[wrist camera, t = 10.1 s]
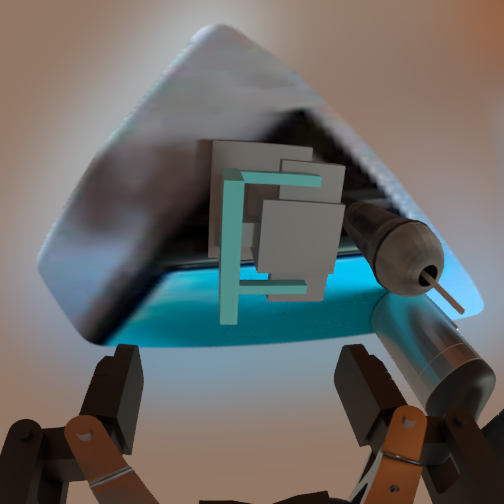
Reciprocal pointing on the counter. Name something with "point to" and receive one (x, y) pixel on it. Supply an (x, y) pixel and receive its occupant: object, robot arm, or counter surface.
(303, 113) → the counter surface
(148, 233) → the counter surface
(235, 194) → the teal c-shaped bracket
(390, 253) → the beverage cup
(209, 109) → the counter surface
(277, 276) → the stand
